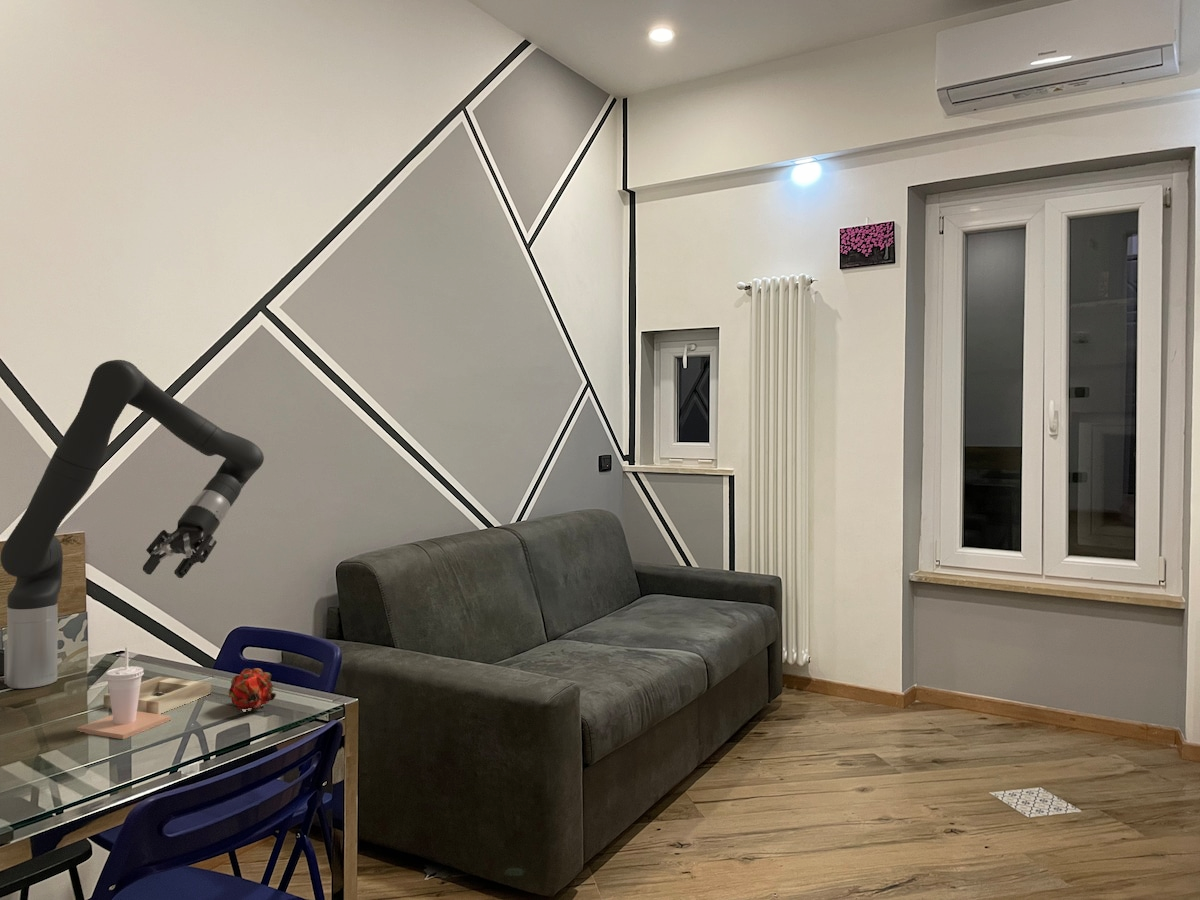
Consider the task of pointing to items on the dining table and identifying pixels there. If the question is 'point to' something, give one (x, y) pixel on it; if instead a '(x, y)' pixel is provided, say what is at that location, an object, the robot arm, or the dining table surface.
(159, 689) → the block
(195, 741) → the dining table surface
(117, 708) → the smoothie
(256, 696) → the dragon fruit
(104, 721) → the coaster
